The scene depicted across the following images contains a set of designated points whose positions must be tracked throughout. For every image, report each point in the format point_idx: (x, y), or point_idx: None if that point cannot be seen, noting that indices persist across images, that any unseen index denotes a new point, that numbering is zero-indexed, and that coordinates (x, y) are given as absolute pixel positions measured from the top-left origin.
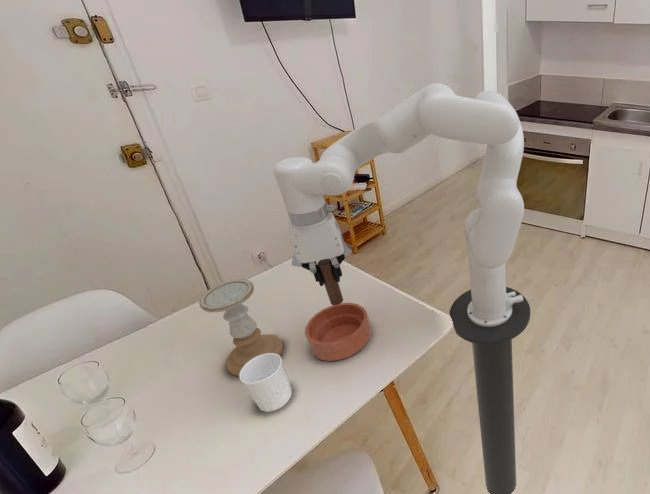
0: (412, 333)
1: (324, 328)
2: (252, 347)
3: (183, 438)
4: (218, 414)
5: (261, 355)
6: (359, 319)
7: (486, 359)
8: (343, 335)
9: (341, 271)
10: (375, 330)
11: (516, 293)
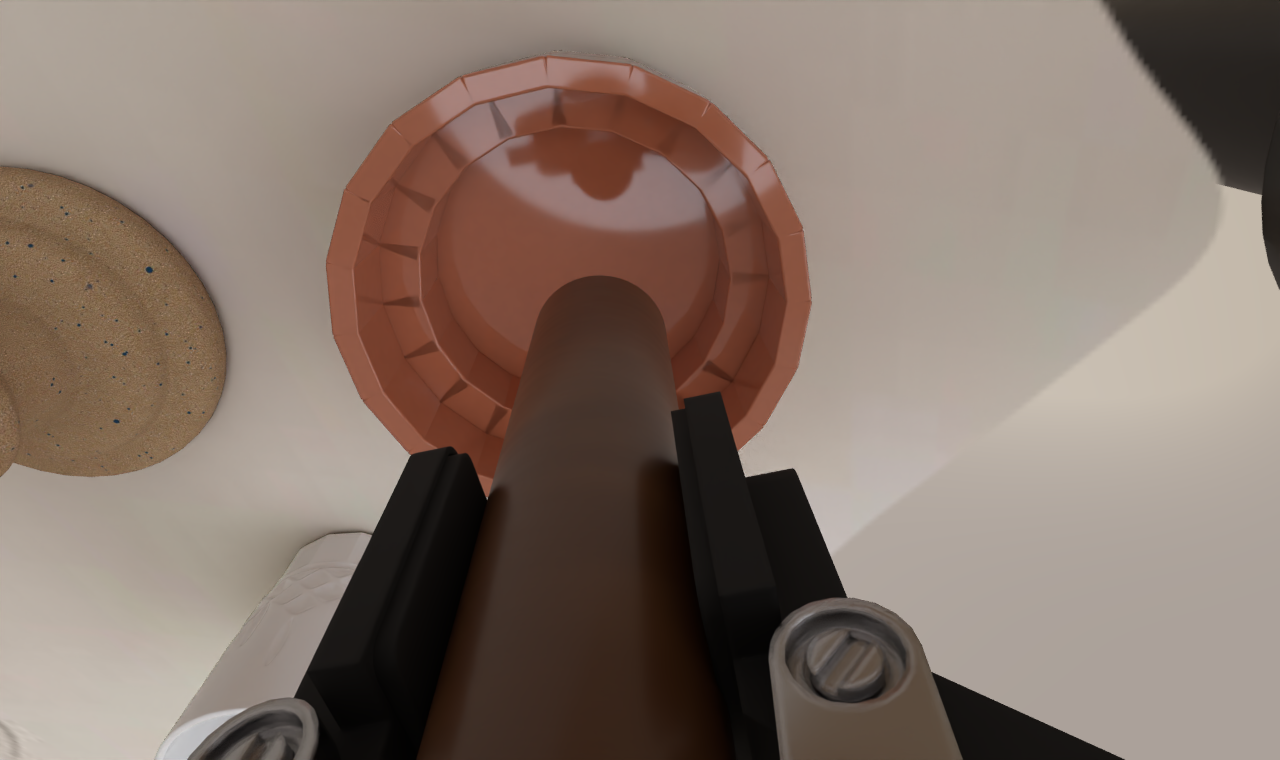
0: (1032, 271)
1: (440, 208)
2: (24, 430)
3: (78, 699)
4: (141, 627)
5: (212, 717)
6: (709, 195)
7: (1224, 184)
8: (585, 244)
9: (799, 485)
10: (793, 206)
11: None
